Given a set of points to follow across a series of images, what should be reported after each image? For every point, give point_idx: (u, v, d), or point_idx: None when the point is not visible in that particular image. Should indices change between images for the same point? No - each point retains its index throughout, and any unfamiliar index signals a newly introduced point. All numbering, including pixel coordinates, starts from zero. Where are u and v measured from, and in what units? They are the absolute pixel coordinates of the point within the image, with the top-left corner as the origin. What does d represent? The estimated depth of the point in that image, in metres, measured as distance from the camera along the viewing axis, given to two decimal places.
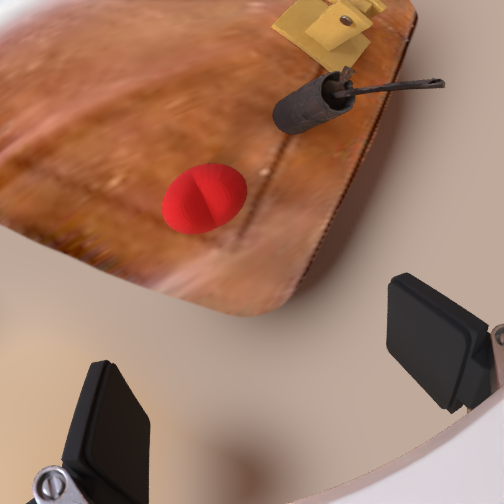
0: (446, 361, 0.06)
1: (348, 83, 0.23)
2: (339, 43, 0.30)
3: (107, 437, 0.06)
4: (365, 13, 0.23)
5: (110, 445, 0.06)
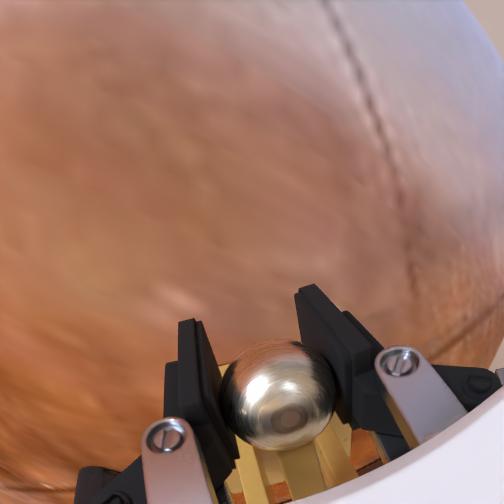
0: (336, 377, 0.07)
1: None
2: None
3: (212, 384, 0.07)
4: None
5: (215, 392, 0.07)
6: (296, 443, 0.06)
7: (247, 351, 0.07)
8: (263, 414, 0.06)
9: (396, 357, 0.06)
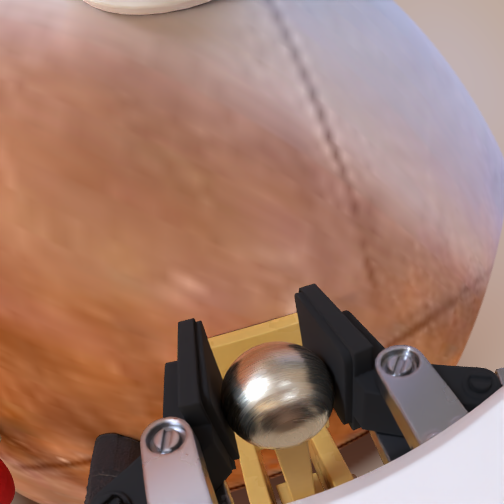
0: (336, 377, 0.07)
1: None
2: None
3: (212, 384, 0.07)
4: None
5: (215, 392, 0.07)
6: (294, 446, 0.07)
7: (252, 367, 0.07)
8: (270, 434, 0.06)
9: (396, 357, 0.06)
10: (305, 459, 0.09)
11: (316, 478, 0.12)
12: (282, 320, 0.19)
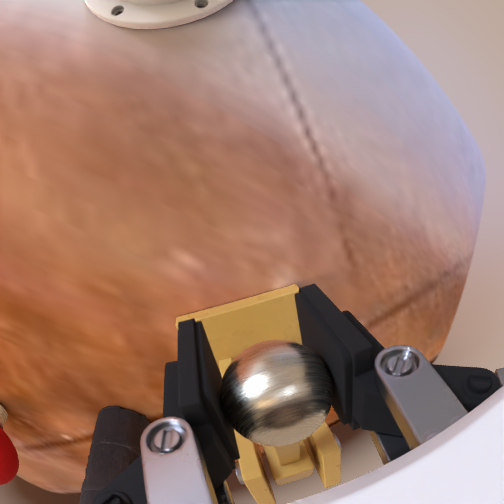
0: (336, 377, 0.07)
1: None
2: None
3: (212, 384, 0.07)
4: None
5: (215, 392, 0.07)
6: None
7: (256, 379, 0.07)
8: (271, 440, 0.07)
9: (396, 357, 0.06)
10: None
11: None
12: (268, 294, 0.21)
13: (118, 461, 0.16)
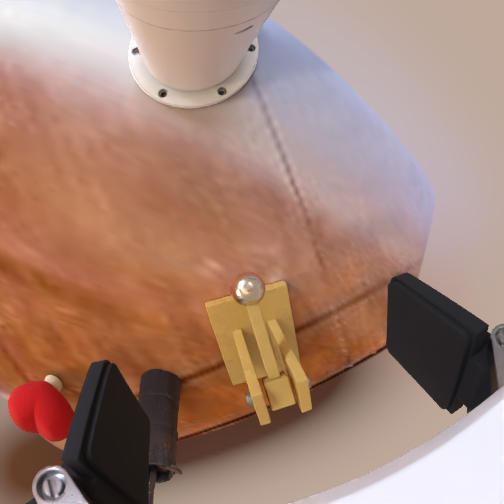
0: (446, 361, 0.06)
1: (172, 471, 0.22)
2: None
3: (107, 437, 0.06)
4: None
5: (110, 445, 0.06)
6: (251, 297, 0.26)
7: (238, 274, 0.28)
8: (242, 286, 0.26)
9: None
10: (263, 324, 0.27)
11: (282, 373, 0.27)
12: (266, 287, 0.33)
13: (162, 405, 0.28)
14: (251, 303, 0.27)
